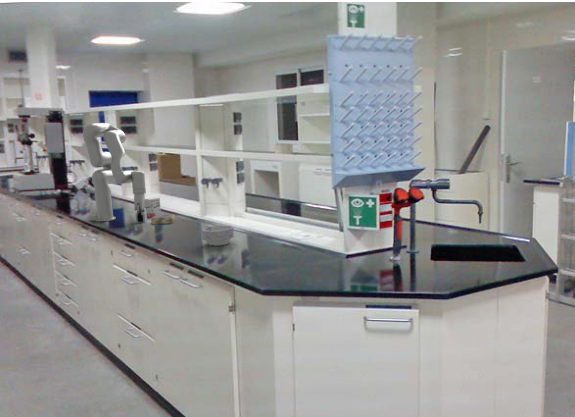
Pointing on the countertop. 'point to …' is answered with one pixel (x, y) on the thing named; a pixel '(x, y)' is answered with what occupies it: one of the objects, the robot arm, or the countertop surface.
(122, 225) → the countertop surface
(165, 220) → the maple stand
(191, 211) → the countertop surface
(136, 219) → the cube
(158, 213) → the ink box
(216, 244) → the paper bowls
